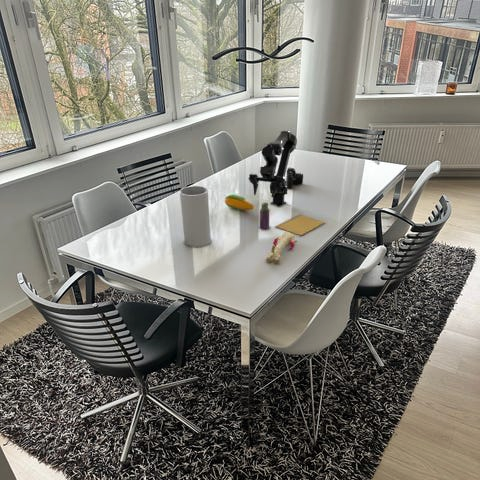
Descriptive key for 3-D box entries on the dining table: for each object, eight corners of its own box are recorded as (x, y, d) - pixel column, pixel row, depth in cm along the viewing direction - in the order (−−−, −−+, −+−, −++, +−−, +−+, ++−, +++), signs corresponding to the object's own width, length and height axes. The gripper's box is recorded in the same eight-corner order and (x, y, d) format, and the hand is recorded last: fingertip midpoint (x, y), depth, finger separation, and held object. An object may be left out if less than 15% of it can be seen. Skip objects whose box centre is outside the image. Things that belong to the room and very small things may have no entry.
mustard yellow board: (299, 215, 242) (299, 214, 241) (324, 223, 233) (324, 222, 233) (275, 227, 230) (275, 226, 230) (301, 235, 221) (301, 235, 221)
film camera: (308, 188, 276) (309, 171, 270) (288, 190, 273) (289, 173, 268) (297, 179, 290) (298, 163, 284) (279, 180, 288) (279, 165, 282)
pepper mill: (263, 224, 233) (264, 201, 225) (271, 227, 230) (271, 203, 223) (257, 227, 230) (257, 204, 223) (265, 230, 227) (265, 206, 220)
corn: (229, 190, 253) (258, 197, 243) (231, 203, 258) (258, 211, 247) (221, 194, 249) (249, 202, 238) (222, 207, 254) (250, 216, 243)
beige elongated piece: (283, 267, 198) (300, 240, 215) (283, 250, 192) (301, 223, 210) (261, 263, 201) (280, 236, 219) (261, 246, 196) (280, 220, 213)
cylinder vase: (200, 249, 211) (196, 197, 197) (179, 243, 217) (174, 192, 202) (215, 239, 220) (213, 188, 205) (195, 234, 225) (190, 184, 211)
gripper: (249, 157, 225) (241, 186, 224) (285, 160, 219) (277, 190, 218) (254, 168, 236) (247, 196, 234) (289, 171, 230) (282, 200, 228)
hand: (263, 195), depth 228 cm, fingers open, 9 cm apart
